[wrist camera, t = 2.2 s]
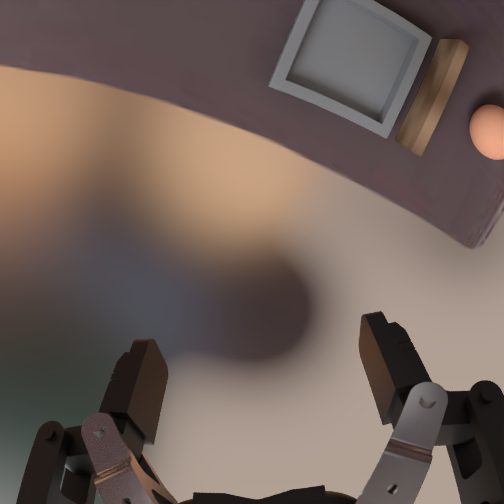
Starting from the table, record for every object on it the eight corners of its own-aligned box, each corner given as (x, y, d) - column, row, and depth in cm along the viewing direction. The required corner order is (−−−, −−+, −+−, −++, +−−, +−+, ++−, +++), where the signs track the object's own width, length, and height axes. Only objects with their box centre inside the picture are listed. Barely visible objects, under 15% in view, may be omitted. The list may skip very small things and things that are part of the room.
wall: (440, 38, 19) (460, 39, 16) (449, 45, 20) (469, 47, 17) (394, 140, 26) (410, 150, 23) (404, 145, 26) (420, 156, 23)
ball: (487, 92, 22) (521, 104, 17) (499, 137, 24) (531, 155, 20) (453, 110, 23) (486, 124, 19) (467, 157, 26) (498, 177, 21)
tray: (312, -20, 18) (317, -26, 16) (421, 37, 20) (432, 37, 18) (267, 84, 23) (268, 86, 22) (378, 133, 25) (386, 139, 24)
